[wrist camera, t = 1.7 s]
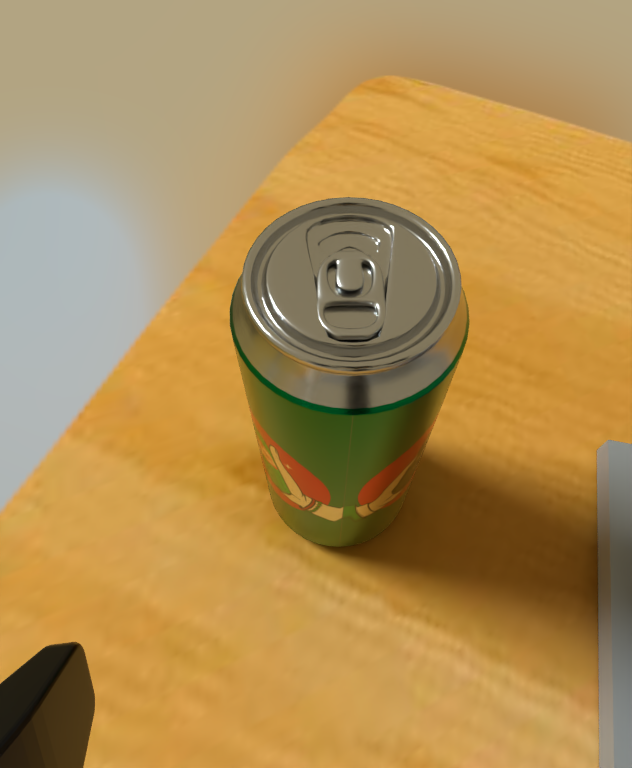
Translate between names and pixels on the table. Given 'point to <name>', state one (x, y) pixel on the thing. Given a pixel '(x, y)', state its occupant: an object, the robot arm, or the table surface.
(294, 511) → the soda can
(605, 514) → the socket
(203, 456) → the table surface
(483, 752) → the table surface
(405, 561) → the table surface
